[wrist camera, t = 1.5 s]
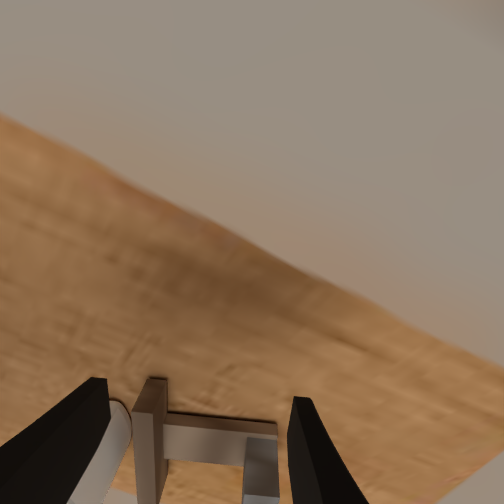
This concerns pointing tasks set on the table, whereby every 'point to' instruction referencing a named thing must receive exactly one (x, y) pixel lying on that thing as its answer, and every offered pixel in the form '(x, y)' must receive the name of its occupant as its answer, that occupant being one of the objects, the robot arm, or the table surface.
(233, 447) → the grey hook bracket
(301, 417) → the robot arm
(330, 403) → the table surface
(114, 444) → the eye dropper bottle
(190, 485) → the table surface
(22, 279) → the table surface
